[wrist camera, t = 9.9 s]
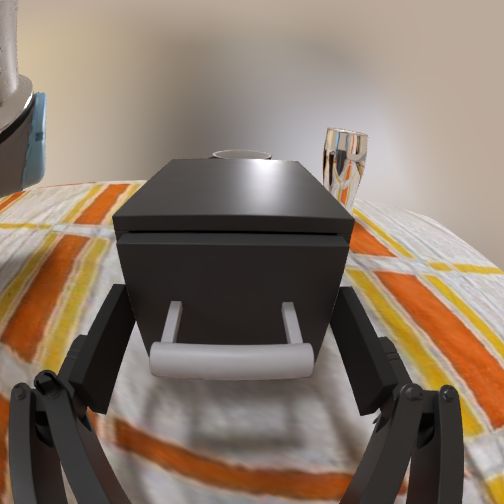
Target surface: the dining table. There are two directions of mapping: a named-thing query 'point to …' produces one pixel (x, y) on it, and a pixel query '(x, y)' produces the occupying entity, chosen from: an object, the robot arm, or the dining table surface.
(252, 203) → the small dark drawer box
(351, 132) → the beer glass
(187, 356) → the black drawer
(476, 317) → the dining table surface
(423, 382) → the dining table surface
